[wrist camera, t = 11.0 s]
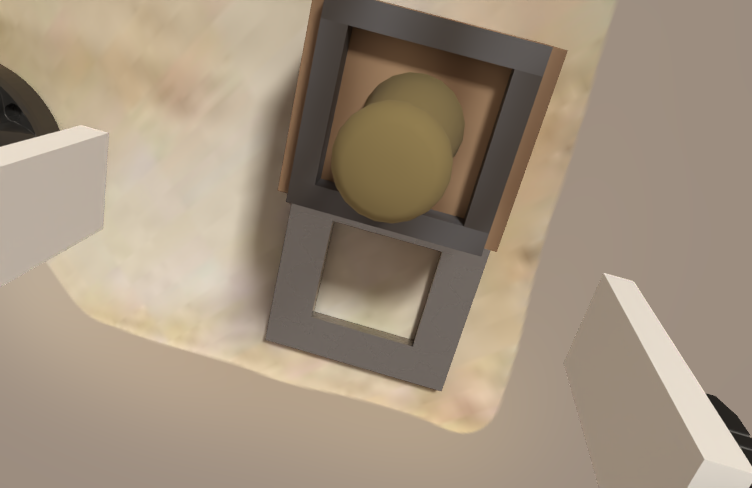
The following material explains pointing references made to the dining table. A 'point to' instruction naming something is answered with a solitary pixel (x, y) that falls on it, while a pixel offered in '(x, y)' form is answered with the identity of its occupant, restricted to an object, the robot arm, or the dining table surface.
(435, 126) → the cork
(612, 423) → the robot arm
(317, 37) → the raised stand
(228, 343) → the dining table surface
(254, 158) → the dining table surface
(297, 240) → the low frame
